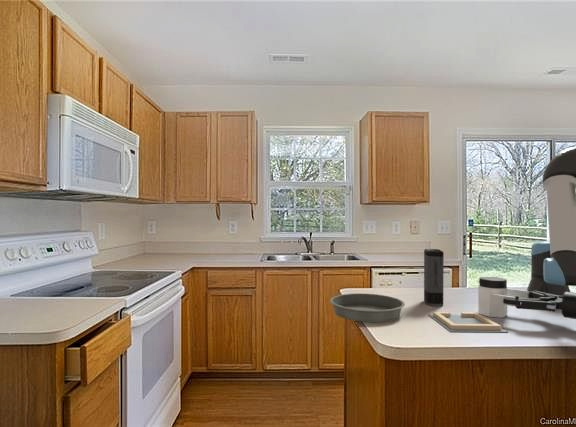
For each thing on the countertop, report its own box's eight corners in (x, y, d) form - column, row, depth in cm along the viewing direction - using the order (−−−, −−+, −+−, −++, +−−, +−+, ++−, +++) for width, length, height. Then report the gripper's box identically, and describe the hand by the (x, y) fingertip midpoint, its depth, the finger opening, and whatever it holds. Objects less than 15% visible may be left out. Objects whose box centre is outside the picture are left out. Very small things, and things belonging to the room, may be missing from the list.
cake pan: (321, 319, 122) (321, 305, 122) (339, 303, 145) (339, 291, 145) (401, 328, 113) (401, 312, 113) (407, 309, 136) (407, 296, 136)
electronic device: (444, 306, 140) (444, 251, 140) (427, 305, 141) (427, 251, 141) (439, 300, 149) (439, 249, 149) (423, 300, 150) (423, 248, 150)
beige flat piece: (477, 315, 127) (477, 311, 127) (507, 332, 109) (507, 327, 109) (428, 315, 127) (428, 310, 127) (450, 332, 109) (450, 326, 109)
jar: (482, 310, 135) (482, 275, 135) (509, 313, 129) (509, 278, 129) (475, 315, 128) (475, 278, 128) (503, 319, 123) (503, 281, 123)
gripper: (571, 328, 102) (486, 313, 118) (587, 312, 120) (511, 300, 135) (571, 300, 102) (486, 289, 118) (587, 287, 120) (511, 279, 135)
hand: (499, 295), depth 126 cm, fingers open, 13 cm apart
